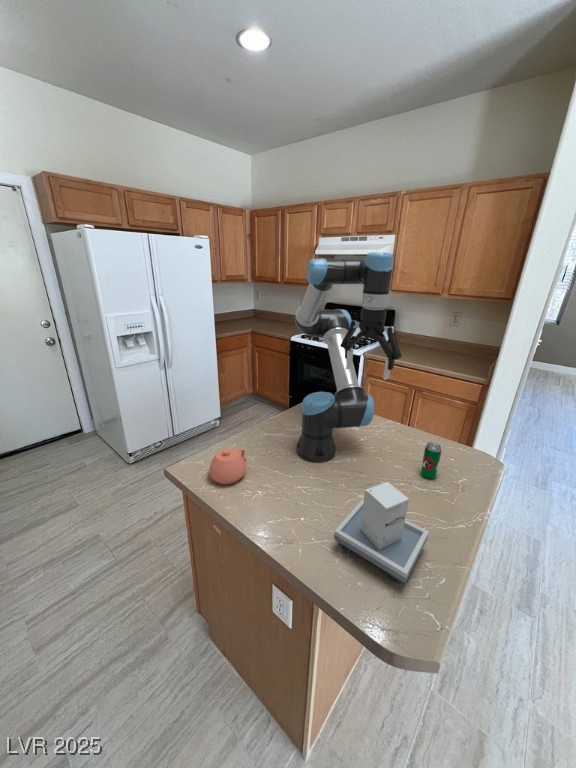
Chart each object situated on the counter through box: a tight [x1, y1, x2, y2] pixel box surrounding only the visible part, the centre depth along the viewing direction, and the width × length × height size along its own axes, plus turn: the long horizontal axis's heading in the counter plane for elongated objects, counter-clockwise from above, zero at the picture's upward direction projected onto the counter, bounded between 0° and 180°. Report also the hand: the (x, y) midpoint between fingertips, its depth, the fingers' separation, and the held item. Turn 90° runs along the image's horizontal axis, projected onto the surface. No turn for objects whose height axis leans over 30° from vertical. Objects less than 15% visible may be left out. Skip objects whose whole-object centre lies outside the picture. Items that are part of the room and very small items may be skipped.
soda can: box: [419, 441, 443, 480], centre depth 105 cm, size 5×5×12 cm
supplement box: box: [360, 481, 410, 550], centre depth 75 cm, size 7×7×13 cm
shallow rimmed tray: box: [333, 498, 430, 584], centre depth 78 cm, size 18×15×6 cm
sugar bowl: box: [208, 447, 247, 485], centre depth 105 cm, size 12×14×10 cm
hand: (366, 373), depth 102 cm, fingers open, 13 cm apart
